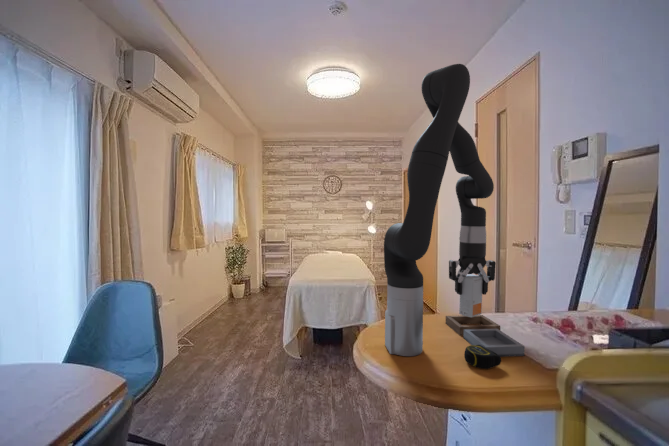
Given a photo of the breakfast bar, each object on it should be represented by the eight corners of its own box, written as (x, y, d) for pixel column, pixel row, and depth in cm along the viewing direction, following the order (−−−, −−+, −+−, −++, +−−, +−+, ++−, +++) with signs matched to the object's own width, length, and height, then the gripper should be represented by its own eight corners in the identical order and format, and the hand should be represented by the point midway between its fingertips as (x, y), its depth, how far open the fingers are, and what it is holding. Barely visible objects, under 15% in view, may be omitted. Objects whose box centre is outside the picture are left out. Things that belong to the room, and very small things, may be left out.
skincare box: (472, 318, 96) (473, 278, 95) (458, 314, 99) (459, 276, 99) (482, 314, 99) (483, 276, 99) (469, 310, 103) (470, 273, 102)
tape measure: (502, 369, 74) (503, 353, 74) (478, 374, 72) (478, 357, 72) (480, 356, 81) (481, 342, 80) (458, 360, 79) (458, 345, 78)
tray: (486, 357, 80) (486, 347, 80) (463, 338, 92) (463, 329, 92) (524, 355, 81) (524, 346, 81) (497, 337, 93) (497, 328, 93)
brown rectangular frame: (459, 335, 94) (459, 327, 94) (445, 323, 104) (445, 315, 104) (500, 334, 95) (500, 325, 95) (482, 322, 105) (482, 314, 105)
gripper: (455, 241, 94) (454, 297, 95) (502, 242, 95) (500, 297, 96) (444, 239, 102) (443, 291, 102) (488, 239, 103) (486, 290, 103)
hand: (471, 293), depth 99 cm, fingers closed on skincare box, 7 cm apart
